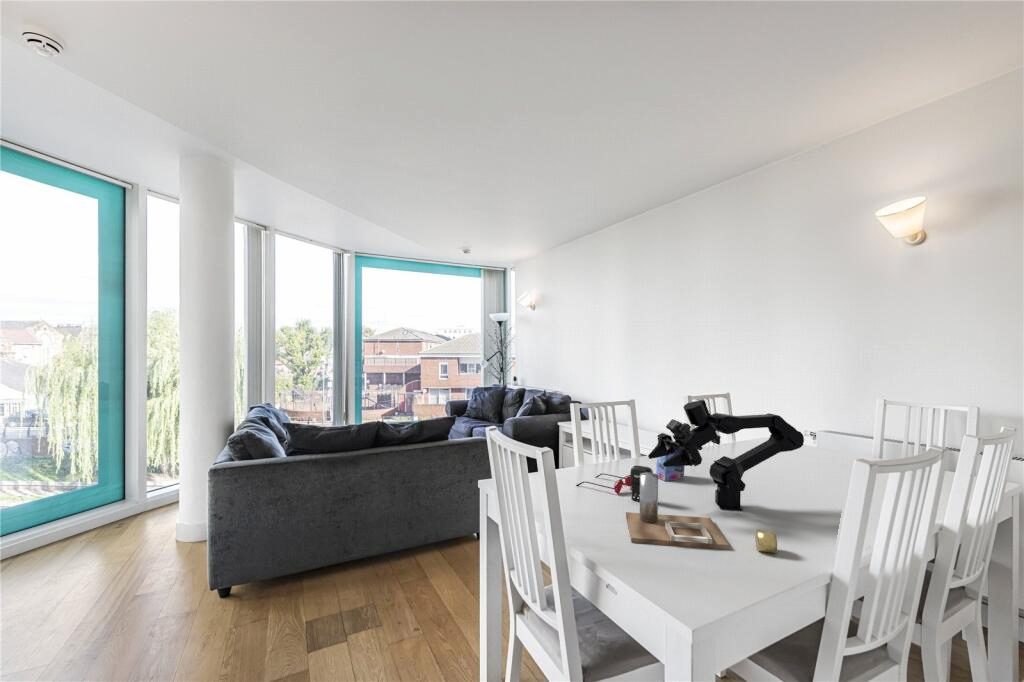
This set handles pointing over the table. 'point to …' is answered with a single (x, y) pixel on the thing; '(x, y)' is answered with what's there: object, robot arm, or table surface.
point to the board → (676, 531)
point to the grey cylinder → (649, 497)
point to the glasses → (618, 485)
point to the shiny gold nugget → (766, 541)
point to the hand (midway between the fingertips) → (655, 461)
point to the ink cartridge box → (669, 469)
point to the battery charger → (637, 480)
